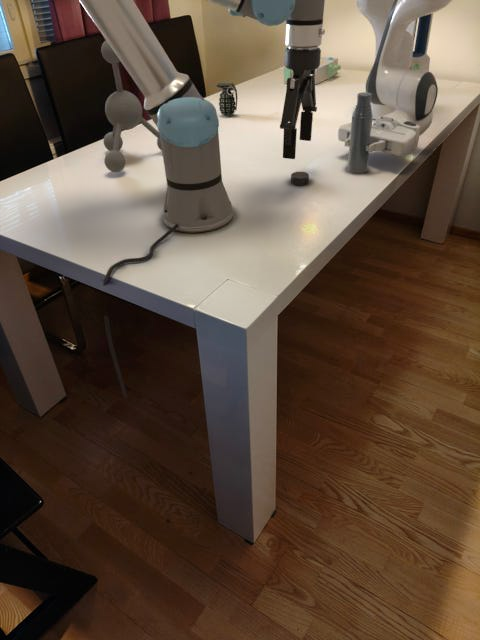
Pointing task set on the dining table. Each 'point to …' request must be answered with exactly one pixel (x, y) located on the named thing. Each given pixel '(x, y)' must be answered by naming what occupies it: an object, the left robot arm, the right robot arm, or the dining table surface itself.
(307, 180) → the cap
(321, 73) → the decorative block
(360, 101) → the bottle
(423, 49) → the electronic device
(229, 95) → the grenade
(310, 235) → the dining table surface
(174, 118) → the left robot arm
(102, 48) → the molecular model
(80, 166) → the dining table surface
